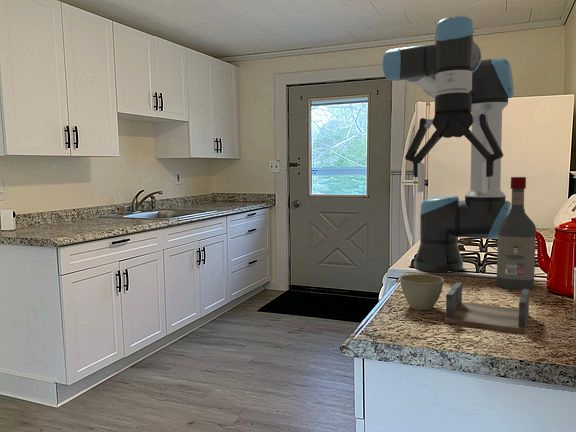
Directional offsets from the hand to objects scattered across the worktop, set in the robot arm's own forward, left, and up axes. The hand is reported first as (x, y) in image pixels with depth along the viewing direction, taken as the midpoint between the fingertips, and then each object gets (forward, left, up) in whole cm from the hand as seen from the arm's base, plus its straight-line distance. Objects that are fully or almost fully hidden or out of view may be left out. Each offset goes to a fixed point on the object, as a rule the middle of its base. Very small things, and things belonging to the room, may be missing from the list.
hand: (451, 192), depth 105 cm
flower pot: (-3, -7, -28) cm, 29 cm away
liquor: (-34, +11, -28) cm, 45 cm away
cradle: (-1, +8, -28) cm, 29 cm away
